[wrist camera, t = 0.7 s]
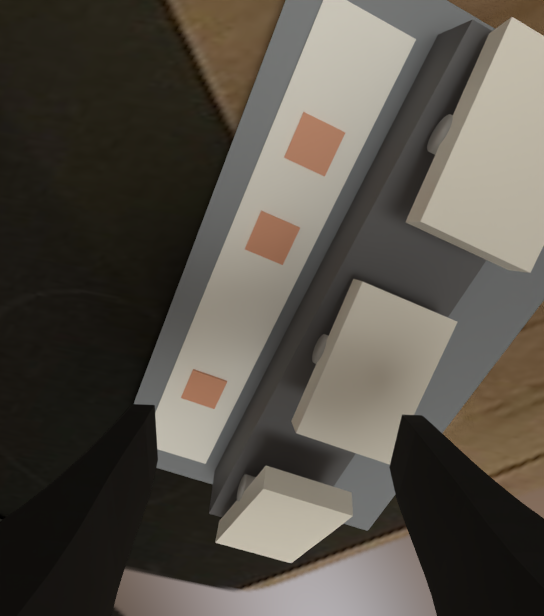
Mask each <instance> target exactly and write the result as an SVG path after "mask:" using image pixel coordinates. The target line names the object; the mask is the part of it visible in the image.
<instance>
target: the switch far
mask: <svg viewBox="0 0 544 616" xmlns="http://www.w3.org/2000/svg"><path fill="white" fill-rule="evenodd" d="M352 516H353V506H352V492H349V491H345V490H342V489H339V488H336V487H333V486H330V485H326V484H323V483H320V482H317V481H314V480H311V479H307V478H304V477H301V476H298V475H295V474H292V473H288V472H285V471H282V470H279V469H276V468H273V467H269V466H265V467H264V468H263V470H262V471H261V472H260V473H259V474H258V476H257V477H253V476H250V475H247V474H244V475H243V477H242V479H241V481H240V484H239V487H238V491H237V501H236V502H235V503H234V504H233V505H232V507H231V508H230V509H229V510H228V511H227V513H226V514H225V515H224V516H223V517H222V519H221V520H220V521H219V525H218V531H217V536H216V542H215V543H219V544H223V545H226V546H230V547H234V548H237V549H241V550H245V551H248V552H252V553H256V554H259V555H263V556H267V557H270V558H274V559H278V560H281V561H285V562H289V563H292V562H293V561H295V560H296V559H297V558H299V557H300V556H301V555H303V554H304V553H305V552H306V551H308V550H309V549H310V548H312V547H313V546H314V545H316V544H317V543H318V542H320V541H321V540H322V539H324V538H325V537H326V536H328V535H329V534H330V533H331V532H333V531H334V530H335V529H337V528H338V527H339V526H341V525H342V524H343V523H345V522H346V521H347V520H349V519H350V518H351V517H352Z"/></svg>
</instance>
